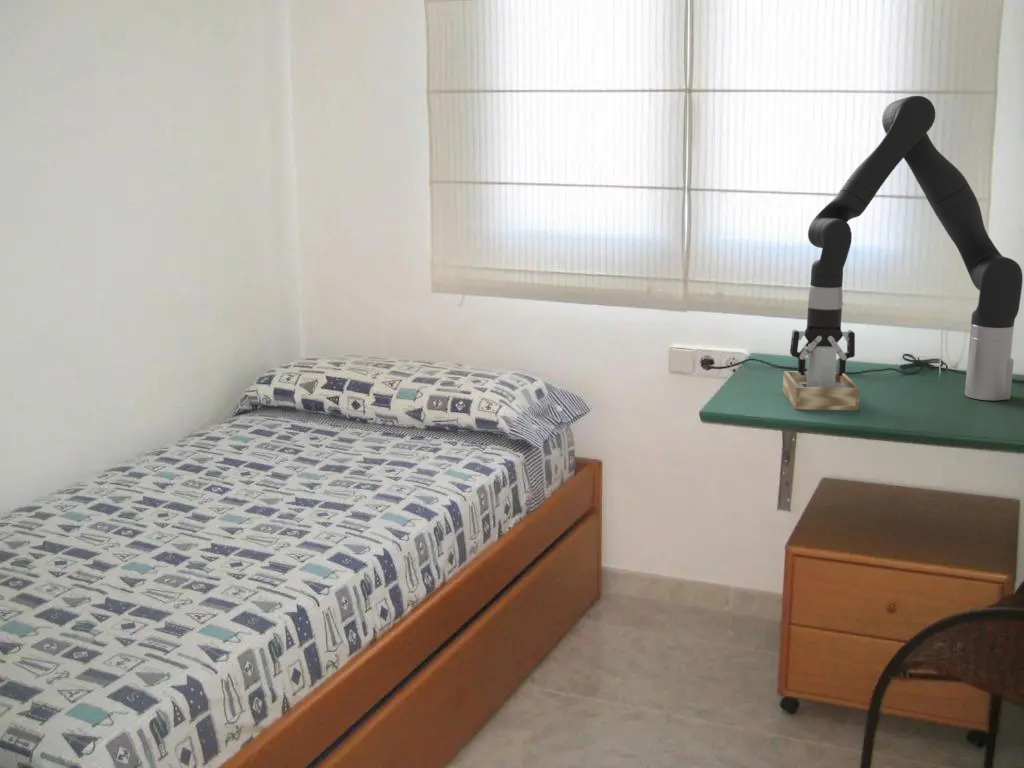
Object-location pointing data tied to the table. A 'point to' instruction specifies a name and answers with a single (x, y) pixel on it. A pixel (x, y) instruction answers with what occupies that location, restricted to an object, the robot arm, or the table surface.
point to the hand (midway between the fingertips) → (820, 375)
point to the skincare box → (821, 367)
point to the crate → (820, 393)
